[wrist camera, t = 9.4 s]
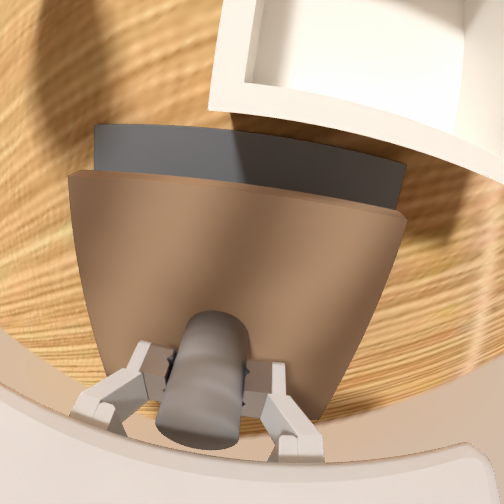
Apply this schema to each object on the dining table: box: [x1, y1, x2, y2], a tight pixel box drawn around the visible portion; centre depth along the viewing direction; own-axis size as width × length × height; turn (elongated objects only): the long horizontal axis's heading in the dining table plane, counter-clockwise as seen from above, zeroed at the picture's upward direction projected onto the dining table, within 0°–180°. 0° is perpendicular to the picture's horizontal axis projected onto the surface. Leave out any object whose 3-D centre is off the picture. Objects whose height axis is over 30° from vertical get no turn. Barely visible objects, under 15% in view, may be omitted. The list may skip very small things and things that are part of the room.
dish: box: [208, 0, 504, 185], centre depth 8 cm, size 12×12×5 cm
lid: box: [68, 170, 408, 450], centre depth 11 cm, size 13×13×6 cm
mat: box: [94, 124, 407, 210], centre depth 17 cm, size 16×16×1 cm
